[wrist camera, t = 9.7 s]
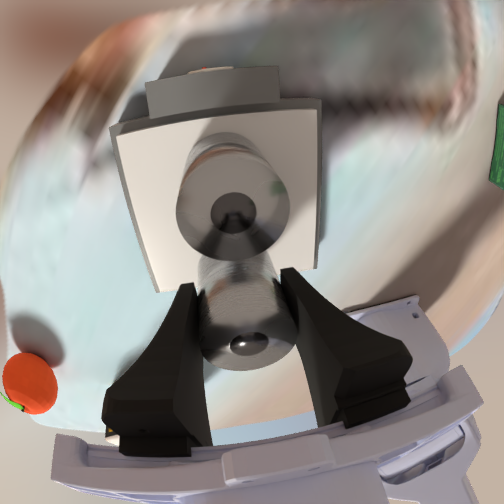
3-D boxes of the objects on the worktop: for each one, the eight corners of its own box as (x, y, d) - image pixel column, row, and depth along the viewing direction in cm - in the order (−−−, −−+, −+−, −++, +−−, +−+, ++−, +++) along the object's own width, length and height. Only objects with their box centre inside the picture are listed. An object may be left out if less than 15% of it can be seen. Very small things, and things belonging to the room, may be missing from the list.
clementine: (12, 361, 23) (-3, 407, 18) (1, 328, 20) (-21, 379, 14) (65, 382, 26) (55, 432, 20) (61, 353, 23) (46, 411, 17)
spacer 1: (267, 134, 13) (298, 161, 9) (259, 207, 15) (281, 260, 11) (185, 131, 12) (174, 156, 8) (184, 206, 15) (178, 261, 11)
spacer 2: (272, 233, 14) (301, 302, 10) (271, 292, 17) (293, 362, 12) (191, 242, 14) (191, 317, 10) (202, 301, 16) (207, 375, 12)
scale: (309, 64, 13) (328, 62, 11) (309, 255, 20) (322, 279, 18) (111, 89, 12) (94, 91, 10) (158, 277, 20) (154, 305, 17)
